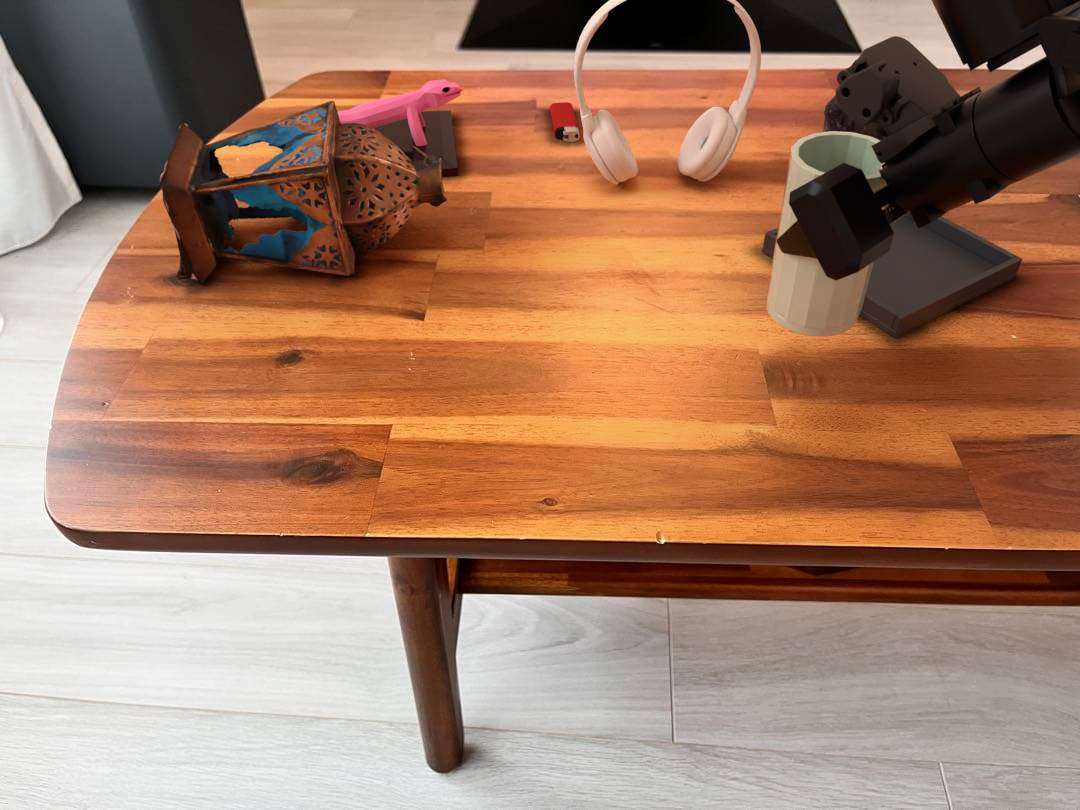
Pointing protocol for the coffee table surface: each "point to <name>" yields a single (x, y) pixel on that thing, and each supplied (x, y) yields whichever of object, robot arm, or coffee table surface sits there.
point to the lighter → (564, 121)
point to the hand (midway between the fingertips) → (811, 227)
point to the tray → (927, 273)
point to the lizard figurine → (414, 122)
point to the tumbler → (800, 282)
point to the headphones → (705, 139)
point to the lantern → (296, 193)
